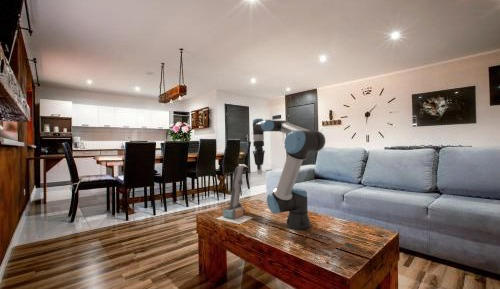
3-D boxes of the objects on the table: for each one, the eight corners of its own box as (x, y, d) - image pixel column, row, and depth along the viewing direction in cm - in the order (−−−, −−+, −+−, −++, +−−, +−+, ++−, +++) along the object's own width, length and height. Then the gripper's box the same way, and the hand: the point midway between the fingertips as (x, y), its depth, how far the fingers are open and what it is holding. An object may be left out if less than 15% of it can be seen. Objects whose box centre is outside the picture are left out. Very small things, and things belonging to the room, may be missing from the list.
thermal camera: (243, 212, 179) (242, 167, 179) (226, 212, 180) (225, 167, 180) (245, 208, 191) (244, 165, 191) (229, 208, 192) (228, 165, 192)
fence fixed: (235, 219, 164) (235, 209, 164) (234, 219, 163) (233, 209, 163) (224, 216, 171) (224, 207, 171) (222, 217, 169) (222, 207, 169)
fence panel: (241, 214, 172) (241, 206, 172) (243, 214, 172) (243, 206, 172) (234, 217, 166) (234, 209, 166) (236, 217, 165) (235, 209, 165)
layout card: (253, 217, 167) (253, 217, 167) (239, 224, 154) (239, 223, 154) (230, 213, 179) (230, 212, 179) (216, 218, 166) (216, 218, 166)
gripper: (258, 141, 174) (259, 173, 173) (249, 141, 163) (250, 175, 162) (267, 140, 169) (268, 173, 169) (258, 140, 159) (259, 175, 158)
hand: (259, 174), depth 166 cm, fingers closed
